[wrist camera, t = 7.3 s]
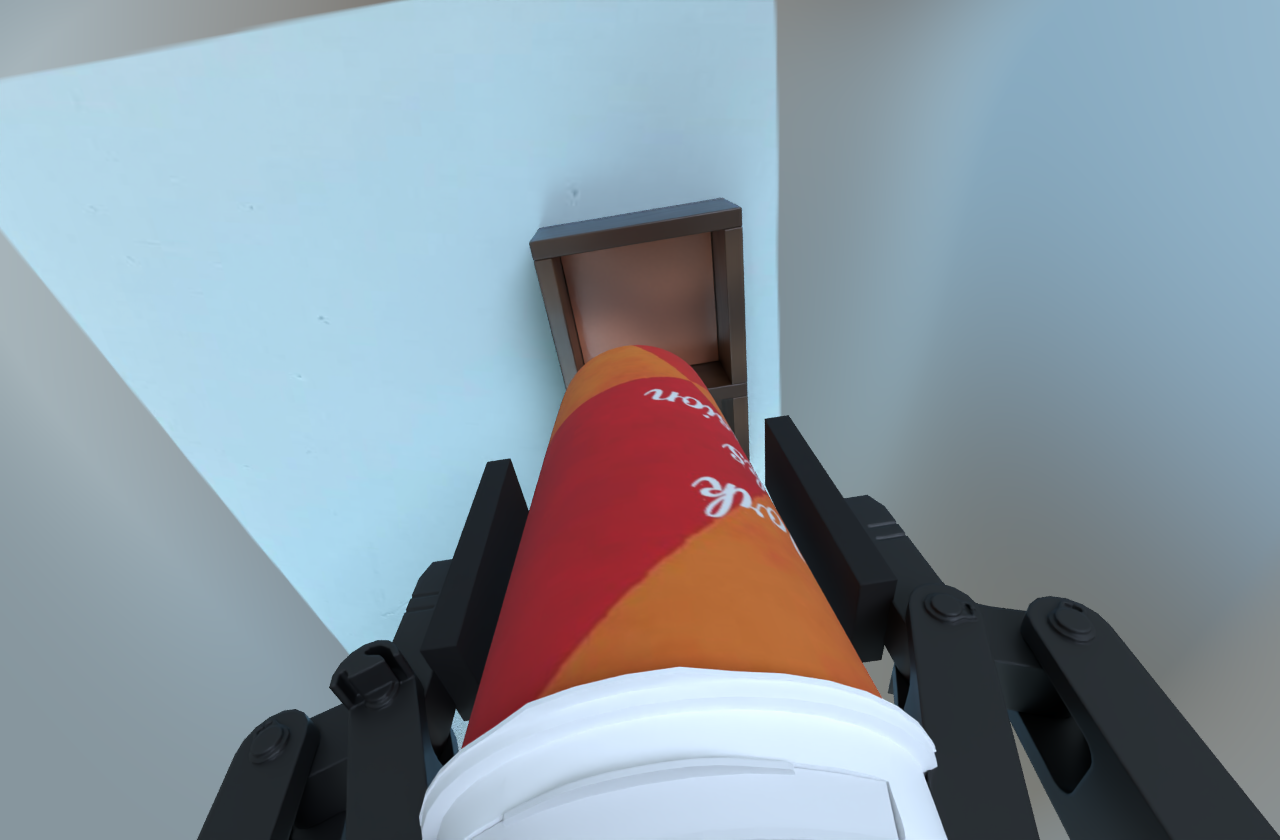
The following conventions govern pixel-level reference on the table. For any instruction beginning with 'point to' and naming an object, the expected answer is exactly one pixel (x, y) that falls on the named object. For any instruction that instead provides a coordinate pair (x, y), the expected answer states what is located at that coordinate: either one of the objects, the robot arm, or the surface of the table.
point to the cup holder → (653, 293)
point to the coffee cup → (671, 650)
